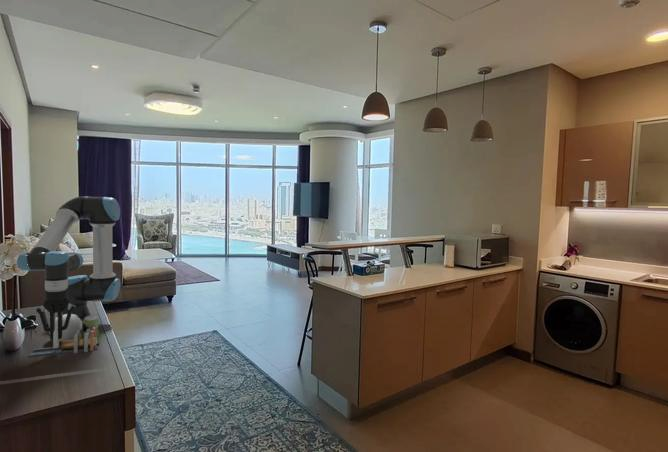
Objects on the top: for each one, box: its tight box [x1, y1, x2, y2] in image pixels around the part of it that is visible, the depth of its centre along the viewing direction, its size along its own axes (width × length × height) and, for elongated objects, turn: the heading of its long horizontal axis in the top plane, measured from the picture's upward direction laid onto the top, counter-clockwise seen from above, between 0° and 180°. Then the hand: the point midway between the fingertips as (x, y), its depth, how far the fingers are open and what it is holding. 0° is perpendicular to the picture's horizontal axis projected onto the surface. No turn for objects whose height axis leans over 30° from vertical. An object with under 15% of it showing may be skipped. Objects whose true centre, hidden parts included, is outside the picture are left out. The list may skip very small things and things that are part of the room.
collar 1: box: [73, 329, 82, 354], centre depth 155 cm, size 9×1×7 cm, turn 26°
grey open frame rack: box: [27, 342, 101, 359], centre depth 154 cm, size 9×23×2 cm, turn 116°
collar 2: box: [83, 328, 91, 353], centre depth 157 cm, size 9×1×7 cm, turn 26°
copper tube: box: [60, 337, 98, 350], centre depth 156 cm, size 12×4×4 cm, turn 116°
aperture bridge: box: [90, 327, 96, 352], centre depth 158 cm, size 8×1×8 cm, turn 26°
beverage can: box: [81, 314, 100, 342], centre depth 165 cm, size 6×7×12 cm
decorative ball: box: [48, 314, 83, 343], centre depth 166 cm, size 12×12×12 cm
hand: (56, 346), depth 152 cm, fingers closed
